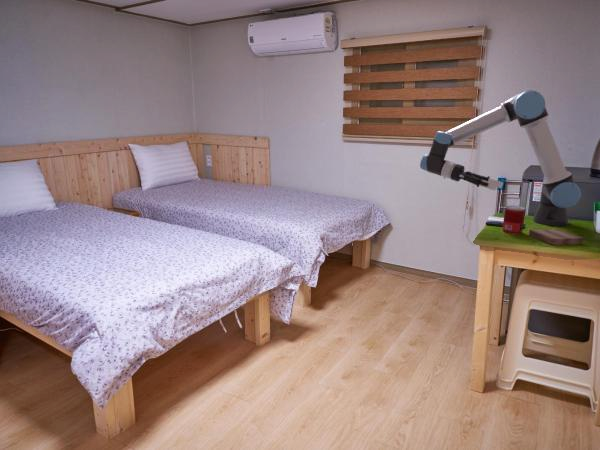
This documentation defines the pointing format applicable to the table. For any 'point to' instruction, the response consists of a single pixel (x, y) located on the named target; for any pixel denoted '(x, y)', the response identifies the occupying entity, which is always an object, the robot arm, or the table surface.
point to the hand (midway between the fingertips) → (499, 186)
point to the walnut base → (555, 237)
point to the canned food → (513, 219)
